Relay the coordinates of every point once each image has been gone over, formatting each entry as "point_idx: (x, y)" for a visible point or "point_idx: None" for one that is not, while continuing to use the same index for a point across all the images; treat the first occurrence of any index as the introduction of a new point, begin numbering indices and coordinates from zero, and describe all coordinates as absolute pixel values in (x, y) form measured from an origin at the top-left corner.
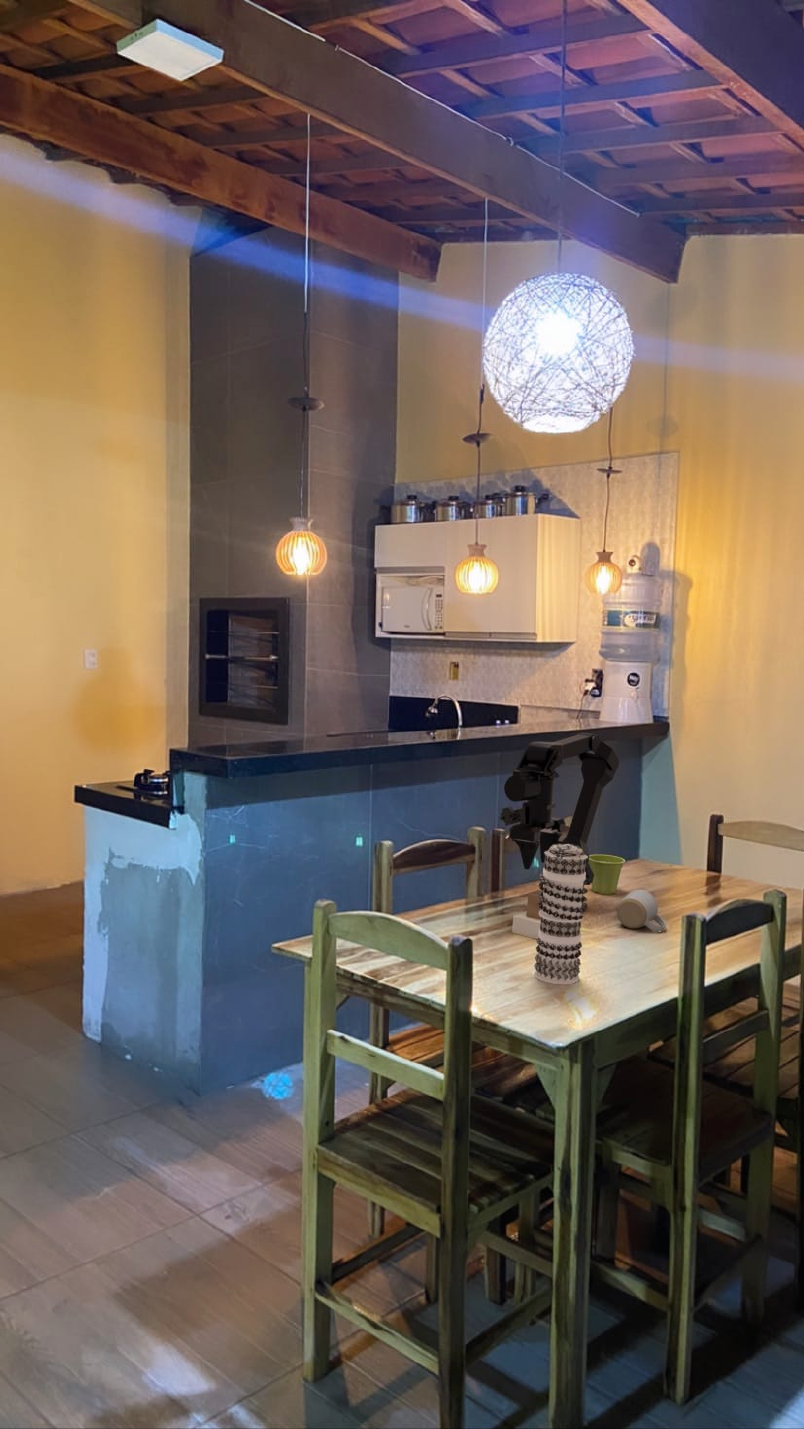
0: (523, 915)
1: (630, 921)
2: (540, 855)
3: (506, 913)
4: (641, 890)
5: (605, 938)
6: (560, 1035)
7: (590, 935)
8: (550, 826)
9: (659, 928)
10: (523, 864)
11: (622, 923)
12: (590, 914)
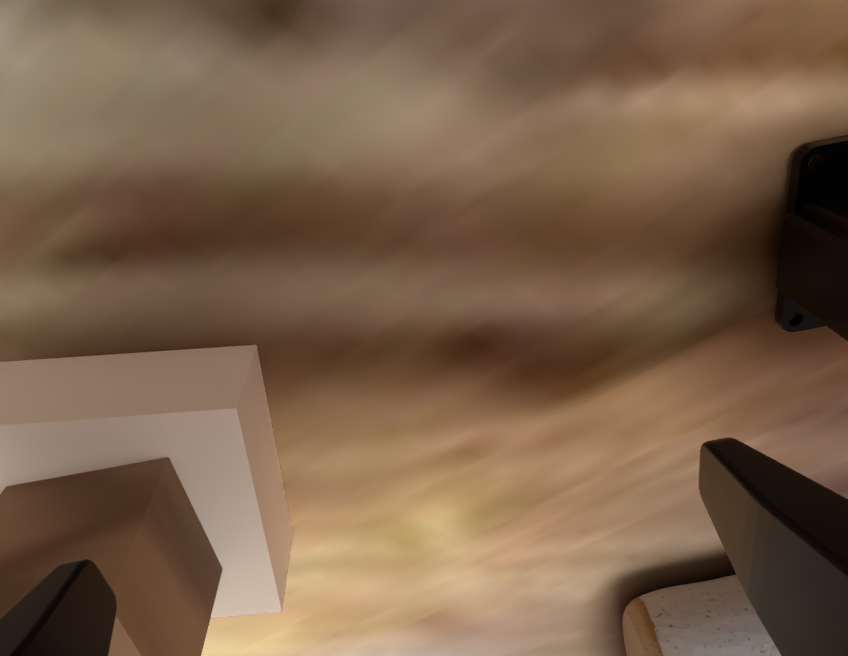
0: (5, 460)
1: (632, 650)
2: (764, 503)
3: (300, 39)
4: None
5: (387, 633)
6: None
7: (368, 586)
8: None
9: None
10: (5, 614)
11: (627, 607)
12: (753, 399)
